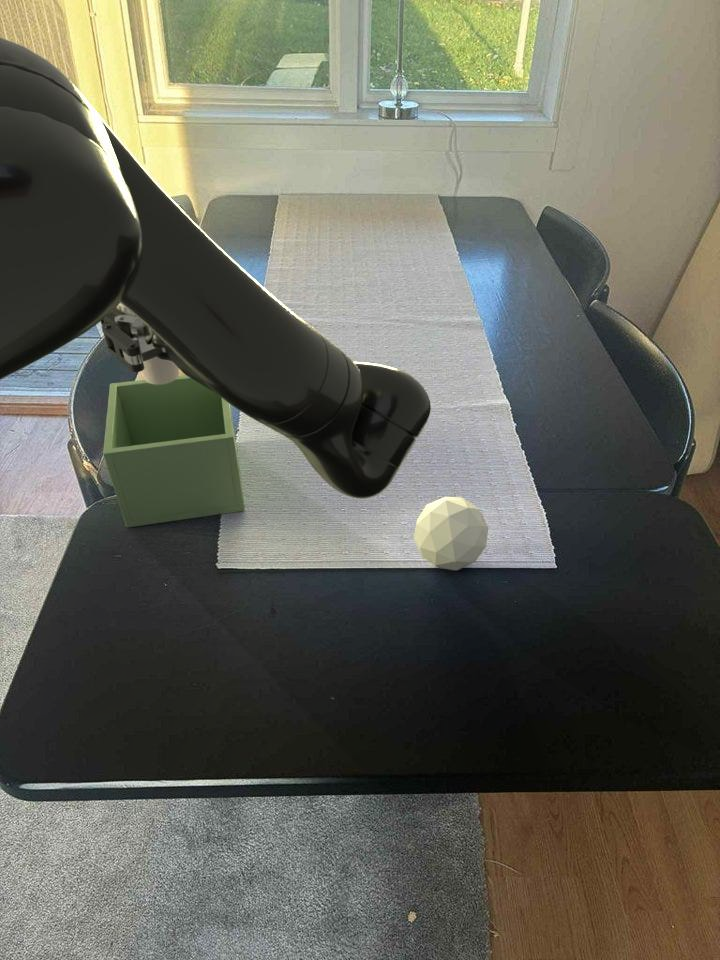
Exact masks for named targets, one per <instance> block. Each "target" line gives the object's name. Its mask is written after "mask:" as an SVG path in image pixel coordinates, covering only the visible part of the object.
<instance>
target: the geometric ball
mask: <svg viewBox="0 0 720 960" xmlns="http://www.w3.org/2000/svg"><path fill="white" fill-rule="evenodd" d="M488 535H489V526H488V523H487V521H486V519H485V517H484V515H483V513H482V510H481V509H480V508H479V507H478V506H476V505H474V504H473V503H471V502H470V501H468V500H467V499H465V498H463V497H457V496H456V497H455V496H454V497H453V496H444V497H441V498H439V499H437V500H434V501H432V502H430V503H427V504H426V505H425V507H424V508H423V509H422V512H420V515H419V517H418V518H417V519H416V524H415V529H414V534H413V540H414V542H415V545H416V547H417V549H418V551H419V554H420V555H421V557H422V558H423V559H424V560H426V561H427V562H429V563H431V564H432V565H434V566H435V567H436V568H438V569H443V570H449V571H456V572H457V571H459V570H461V569H463V568H465V567H467V566H469V565H471V564H474V563H476V561H477V560H478V559H479V557H480V556H481V554H482V553H483V552H484V550H485V549H486V548H487V542H488V537H489V536H488Z"/></svg>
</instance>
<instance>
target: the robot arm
mask: <svg viewBox="0 0 720 960" xmlns="http://www.w3.org/2000/svg"><path fill="white" fill-rule="evenodd" d="M119 303H121V304H122V305H124V306H125V307H126V308H127V309H128V310H130V311H131V312H132V313H133V314H134V315H136V316H129V315H125V313H123V312H122V311H120V310H118V309H116V307H117V306H118V305H119ZM99 323H100V324H101V331H102V333H103V336H104V339H105V340H104V341H105V344H106V349H107V351H108V352H109V353H110V354H111V355H112V356H114V358H115V359H117V360H118V361H119V362H121V364H123V365H124V366H126V368H128V369H129V370H130V371H131V372H133V373H139V372H142V370H144V368H145V367H144V363H143V362H144V361H147V360H149V359H152V358H154V357H158V358H160V359H163V360H169V361H172V362H174V363H175V364H176V366H177V367H178V368H179V371H181V372H182V373H183V374H184V375H187V376H188V377H190V378H191V379H193V380H195V381H196V382H198V383H200V384H201V385H203V386H205V387H206V388H208V389H209V390H211V391H213V392H214V393H216V394H218V395H219V396H220V397H222V398H223V399H224V400H225V401H227V402H228V403H229V404H230V406H231V407H234V408H235V409H237V410H238V411H239V412H241V413H243V414H244V415H245V416H247V417H249V418H251V419H253V420H255V421H256V422H258V423H260V424H262V425H264V426H266V427H267V428H269V429H270V430H273V431H275V432H277V433H278V434H280V435H282V436H284V437H285V438H286V439H288V440H290V441H291V442H292V443H294V444H295V446H296V447H297V449H299V450H300V452H301V454H303V456H304V457H305V459H306V460H307V461H308V463H309V465H310V466H311V467H312V468H313V469H314V471H315V472H316V473H317V474H318V476H320V478H321V479H322V480H323V481H324V482H326V484H328V485H329V486H330V487H331V488H333V489H334V490H336V491H337V492H339V493H341V494H342V495H345V496H347V497H349V498H353V499H360V500H361V499H370V498H373V497H377V496H379V495H380V494H382V493H384V492H385V491H386V490H387V489H389V487H390V486H391V484H392V483H393V481H394V479H395V477H396V476H397V474H398V473H399V471H400V469H401V467H402V466H403V464H404V463H405V461H406V459H407V457H408V455H409V454H410V452H411V451H412V449H413V447H414V445H415V444H416V442H417V439H418V438H419V437H420V435H421V433H423V430H424V428H425V427H426V425H427V424H428V421H429V419H430V416H431V411H432V406H431V399H430V397H429V394H428V393H427V391H426V389H425V388H424V386H423V385H422V383H421V382H420V381H418V379H416V378H415V377H414V376H412V375H411V374H409V373H408V372H406V371H403V370H402V369H399V368H397V367H393V366H390V365H386V364H380V363H375V362H369V361H368V362H366V361H355V360H352V359H351V357H350V356H348V354H347V353H345V351H343V350H341V348H339V347H338V346H337V345H335V344H334V343H333V342H331V341H330V340H329V339H328V338H327V337H325V336H324V335H323V334H322V333H321V332H320V331H318V329H316V328H314V327H313V326H312V325H311V324H309V323H308V322H307V321H305V320H304V319H303V318H302V317H301V316H299V315H298V314H296V313H295V312H294V311H293V310H292V309H290V308H289V307H288V306H287V305H286V304H284V303H283V302H282V301H281V300H279V299H278V297H276V296H275V295H274V294H273V293H272V292H270V291H269V290H268V289H266V288H265V286H263V285H262V284H261V283H260V282H258V280H256V279H255V278H254V277H253V276H252V275H251V274H249V273H248V271H246V270H245V269H244V268H243V267H242V266H241V265H239V263H238V262H236V261H235V260H234V259H233V258H232V257H231V256H230V255H228V254H227V252H225V250H224V249H222V248H221V247H220V246H219V245H218V244H217V243H216V242H215V241H214V240H213V239H212V238H210V237H209V236H208V234H207V233H206V232H205V231H204V230H203V229H201V227H200V226H199V225H198V224H197V223H195V222H194V221H193V220H192V218H190V216H189V215H188V214H186V212H185V211H184V210H183V209H182V208H181V207H180V206H179V205H178V203H176V202H175V201H174V200H173V199H172V198H171V196H170V195H169V194H168V193H166V191H165V190H164V189H163V188H162V187H161V186H160V185H159V183H157V181H156V180H154V179H153V177H152V176H151V175H150V173H148V171H147V170H146V168H145V167H143V166H142V164H141V163H140V162H139V160H138V159H137V158H136V157H135V156H134V155H133V154H132V152H130V150H129V149H128V147H126V145H125V144H124V143H123V142H122V140H121V139H120V138H119V137H118V136H117V135H116V134H115V132H114V131H113V130H112V128H111V127H110V126H109V125H108V124H107V123H106V122H105V120H104V119H103V118H102V117H101V115H100V114H99V113H98V112H97V110H95V108H94V107H93V106H92V104H91V103H90V101H88V100H87V98H86V97H85V96H84V95H83V94H82V92H81V91H80V89H79V88H78V87H77V86H76V85H75V84H74V83H73V82H72V80H70V78H68V77H67V76H66V74H64V73H63V72H62V70H60V69H59V68H58V67H56V66H55V65H54V64H53V63H52V62H50V61H49V60H47V59H46V58H44V57H42V56H40V55H39V54H38V53H36V52H34V51H33V50H31V49H29V48H28V47H26V46H24V45H21V44H20V43H19V44H18V43H16V42H13V41H12V40H8V39H5V38H4V37H1V36H0V381H1V380H3V379H5V378H7V377H9V376H11V375H12V374H15V373H17V372H18V371H20V370H23V369H24V368H26V367H28V366H30V365H31V364H33V363H35V362H38V361H39V360H41V359H43V358H45V357H46V356H48V355H50V354H52V353H54V352H55V351H57V350H59V349H60V348H62V347H64V346H65V345H67V344H69V343H70V342H72V341H75V340H76V339H78V338H79V337H81V336H83V335H84V334H85V333H87V332H88V331H90V330H92V329H93V328H94V327H96V326H97V325H98V324H99ZM130 326H131V327H135V328H136V330H137V333H138V334H133V333H132V331H131V327H130ZM150 329H151V330H152V331H153V332H152V334H151V330H150Z"/></svg>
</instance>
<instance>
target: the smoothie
mask: <svg viewBox="0 0 720 960" xmlns="http://www.w3.org/2000/svg"><path fill="white" fill-rule="evenodd" d="M116 309H118V310H120V311H122V312H123V313H125V315H129V316H136V315H134V314H133V313H132V312H131V311H130V310H128V309H127V308H126V307H125V306H124V305H122V304H121V303H119V305H118V306H117V307H116ZM130 327H131V326H130ZM150 330H151V329H150ZM131 331H132V333H133V334H138V333H137V330H136V328H135V327H131ZM152 332H153V331H152V330H151V334H152ZM143 363H144V367H145V368H144V370H142V371H141V373H142V375H143V378H144V380H146V381H147V382H148V383H150V384H155V385H161V384H167V383H170V382H172V381H174V380H175V379H177V377H178V376H180V369H179V368H178V367H177V366H176V364H175V363H174V362H172V361H169V360H163V359H160V358H158V357H154V358H152V359H149V360H147V361H144V362H143Z"/></svg>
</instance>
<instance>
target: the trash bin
mask: <svg viewBox="0 0 720 960" xmlns="http://www.w3.org/2000/svg"><path fill="white" fill-rule="evenodd" d="M106 411H107V413H106V421H105V430H104V442H103V451H102V455H103V459H104V462H105V465H106V469H107V471H108V474H109V477H110V481H111V484H112V487H113V490H114V494H115V497H116V500H117V503H118V506H119V509H120V511H121V515H122V519H123V521H124V524H125V528H128V529H129V528H133V527H141V526H147V525H154V524H155V525H156V524H161V523H168V522H174V521H183V520H189V519H197V518H203V517H211V516H216V515H224V514H230V513H231V514H232V513H237V512H244V511H245V510H246V509H245V502H244V495H243V488H242V487H243V486H242V479H241V478H242V477H241V472H240V471H241V470H240V463H239V455H238V447H237V441H236V440H237V439H236V434H235V427H234V421H233V420H234V419H233V414H232V413H233V412H232V405H231V404H229V403H228V402H227V401H225V400H224V399H223V398H222V397H220V396H219V395H218V394H216V393H214V392H213V391H211V390H209V389H208V388H206V387H205V386H203V385H201V384H200V383H198V382H196V381H195V380H193V379H191V378H190V377H188V376H187V375H185V374H184V375H179V376H178V377H177V379H175V380H174V381H172V382H170V383H167V384H161V385H155V384H150V383H148V382H147V381H146V380H145V379H139V380H131V381H121V382H113V383H110V384H109V392H108V402H107V410H106Z"/></svg>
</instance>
